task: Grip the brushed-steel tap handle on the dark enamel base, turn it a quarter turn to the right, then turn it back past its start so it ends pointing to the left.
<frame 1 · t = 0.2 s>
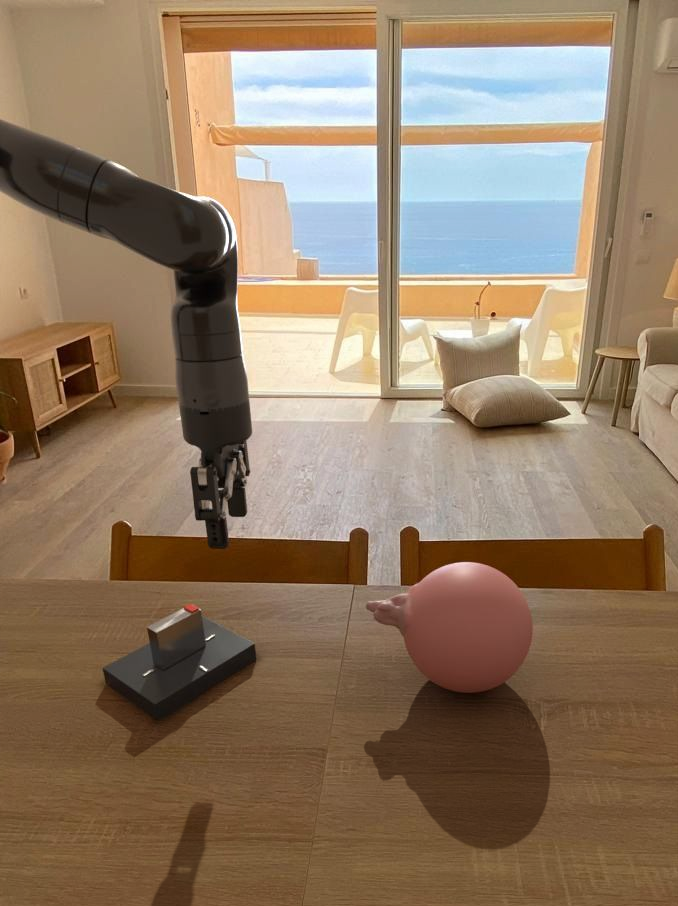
hand: (229, 531, 82), 19 cm above the table, tool pointing down, fingers open, 8 cm apart
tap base: (183, 671, 88), on the table
tap handle: (177, 635, 86), point 5 cm above the table, hinge at 0.0°
balloon: (446, 677, 87), on the table
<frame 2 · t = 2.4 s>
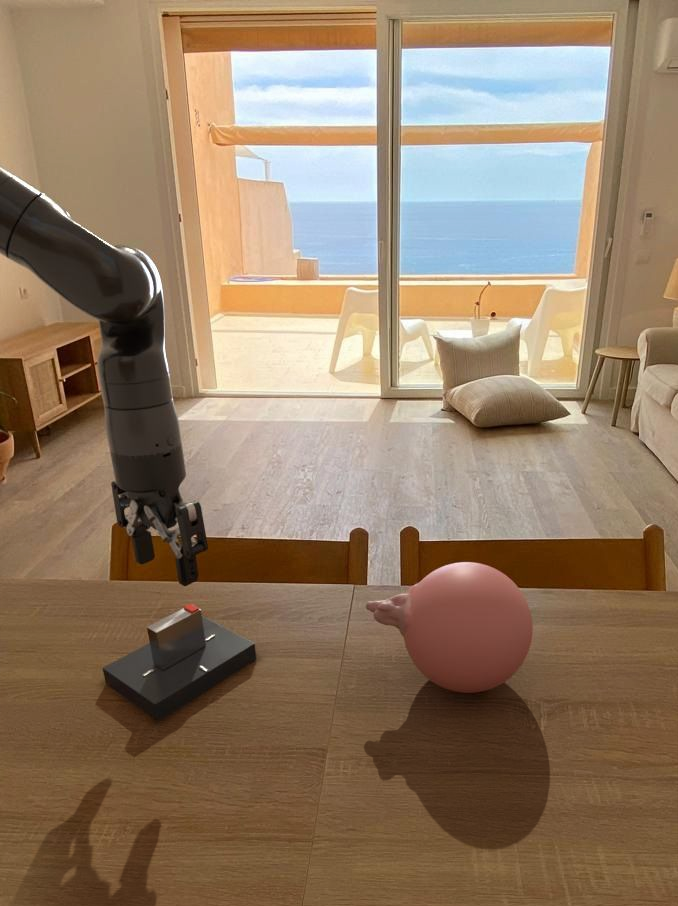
hand: (167, 571, 82), 14 cm above the table, tool pointing down, fingers open, 8 cm apart
nothing on the table moved.
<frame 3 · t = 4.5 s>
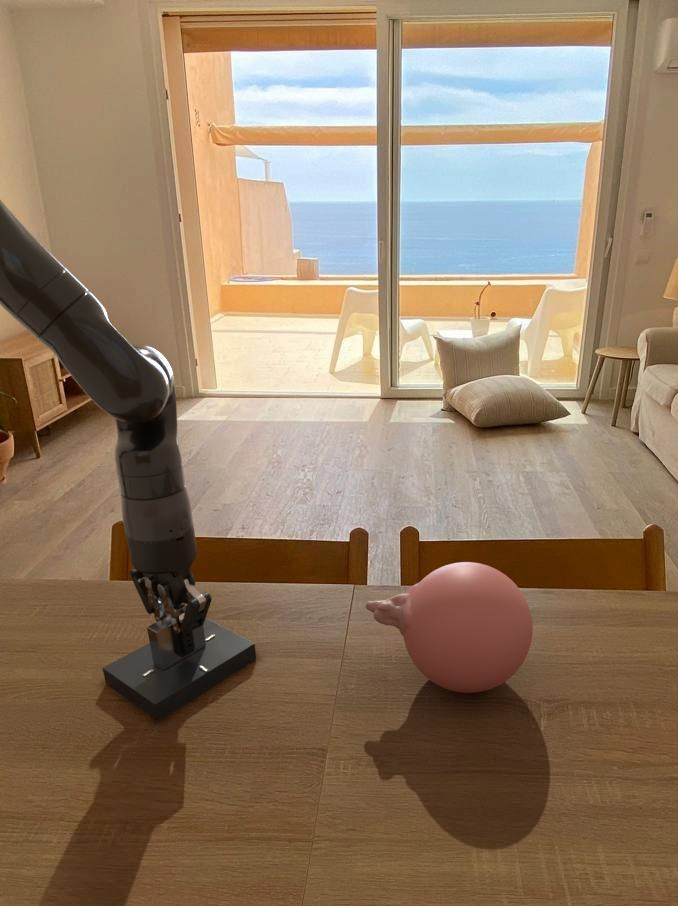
hand: (179, 649, 87), 3 cm above the table, tool pointing down, fingers closed on tap handle, 2 cm apart
tap handle: (177, 635, 86), point 5 cm above the table, hinge at 0.0°, touching gripper
everything else where it was.
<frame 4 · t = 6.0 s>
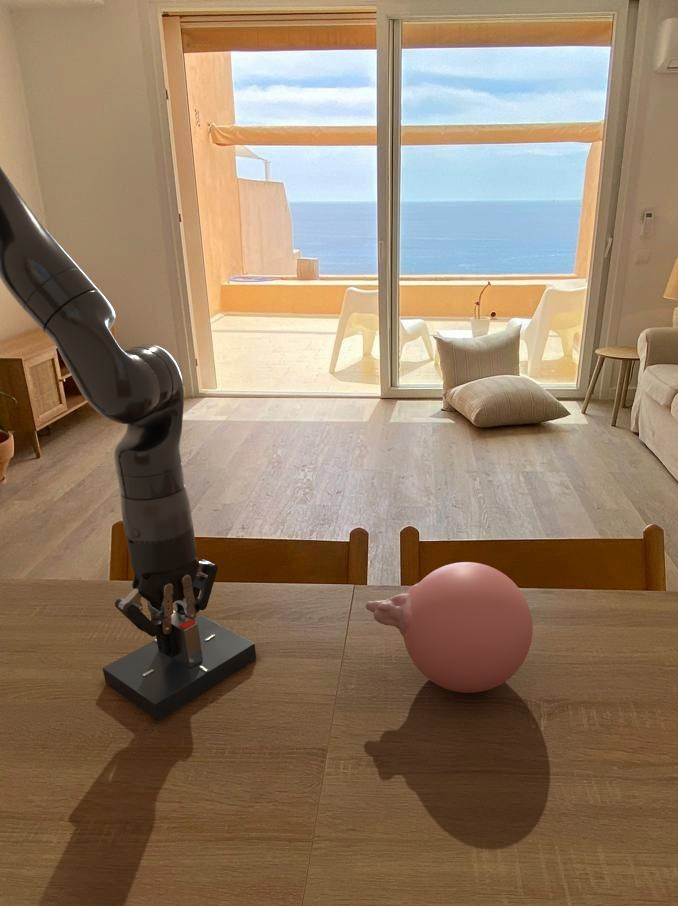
hand: (178, 648, 87), 3 cm above the table, tool pointing down, fingers closed on tap handle, 2 cm apart
tap handle: (177, 635, 86), point 5 cm above the table, hinge at -89.5°, touching gripper
everything else where it was.
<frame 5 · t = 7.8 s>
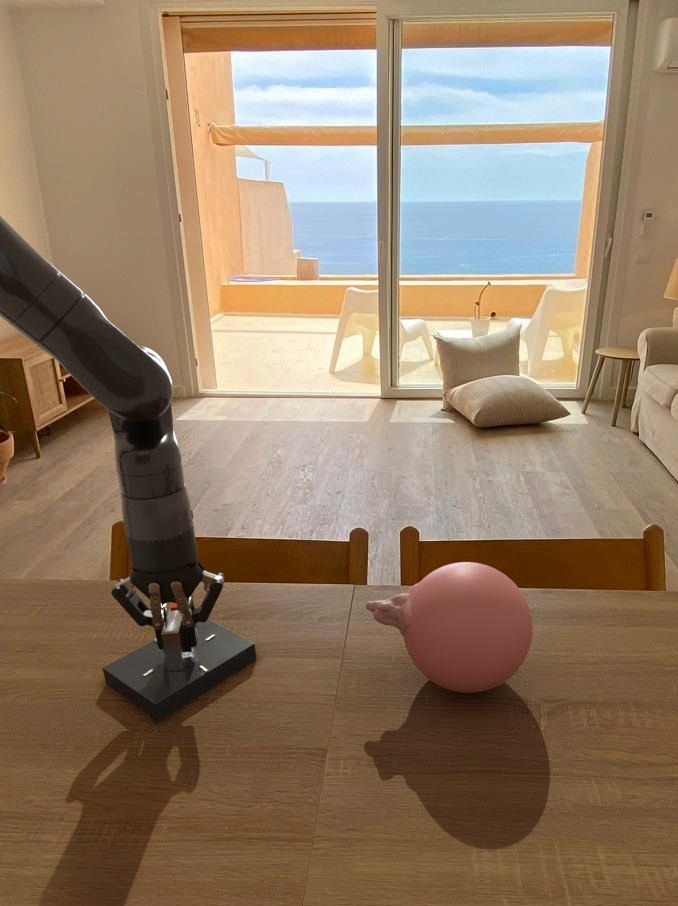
hand: (179, 648, 87), 4 cm above the table, tool pointing down, fingers closed on tap handle, 2 cm apart
tap handle: (177, 635, 86), point 5 cm above the table, hinge at 44.5°, touching gripper
everything else where it was.
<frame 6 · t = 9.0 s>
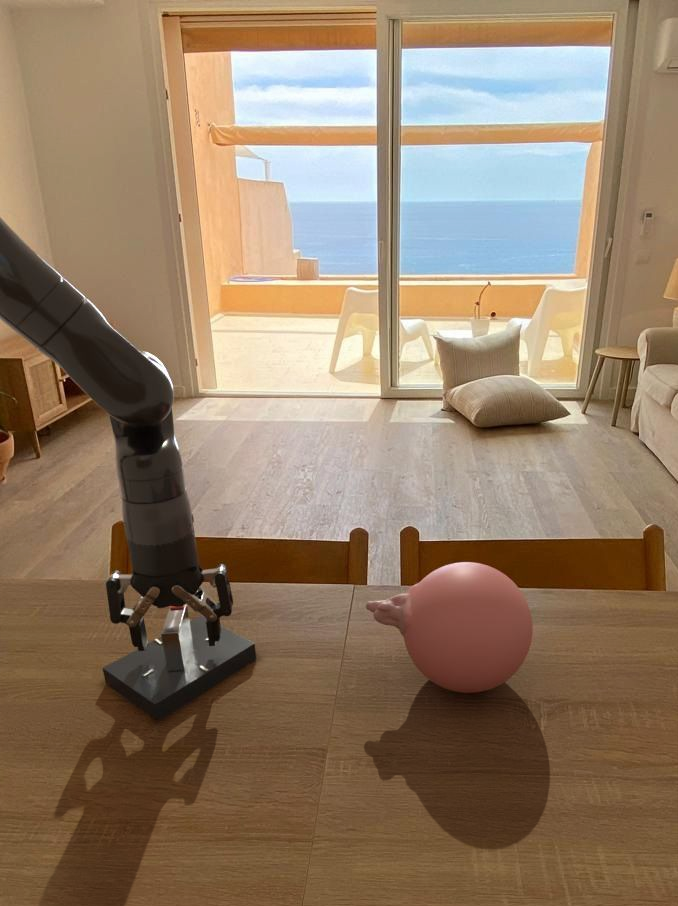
hand: (178, 644, 87), 4 cm above the table, tool pointing down, fingers open, 8 cm apart
tap handle: (177, 635, 86), point 5 cm above the table, hinge at 44.4°
everything else where it was.
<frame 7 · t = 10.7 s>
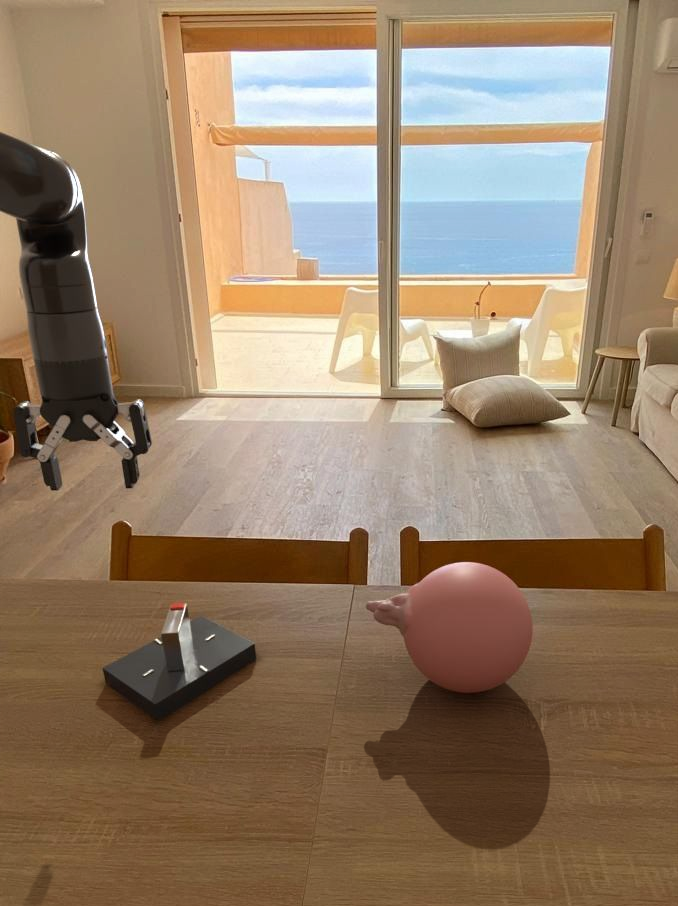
hand: (94, 487, 83), 23 cm above the table, tool pointing down, fingers open, 8 cm apart
nothing on the table moved.
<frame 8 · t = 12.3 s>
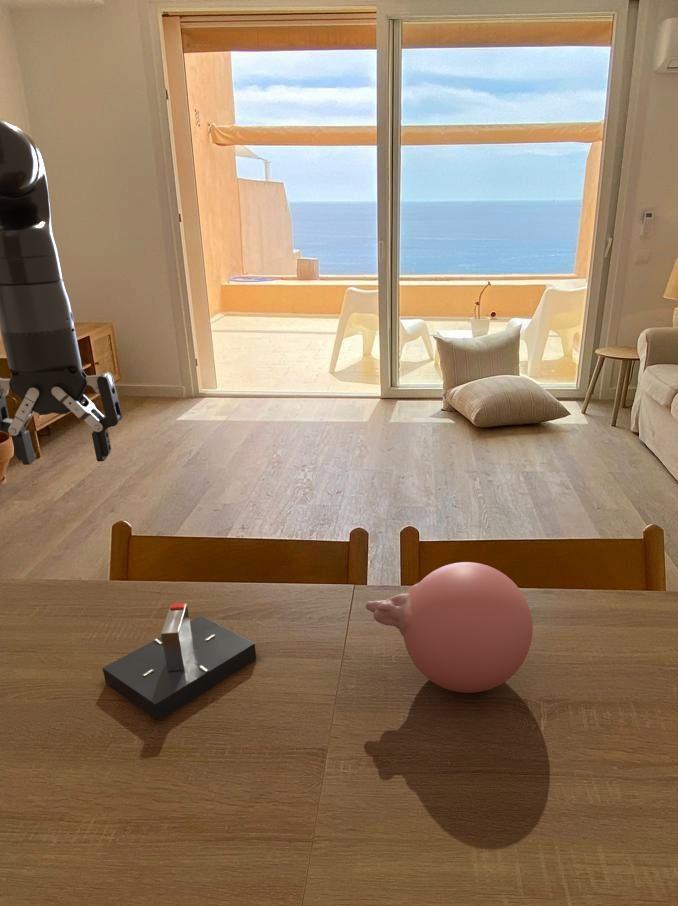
hand: (66, 461, 84), 26 cm above the table, tool pointing down, fingers open, 8 cm apart
nothing on the table moved.
at the end: tap handle reached -90° during the clip, +44° at the end; tap handle at +44° (first picture: +0°); the gripper is holding nothing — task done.
